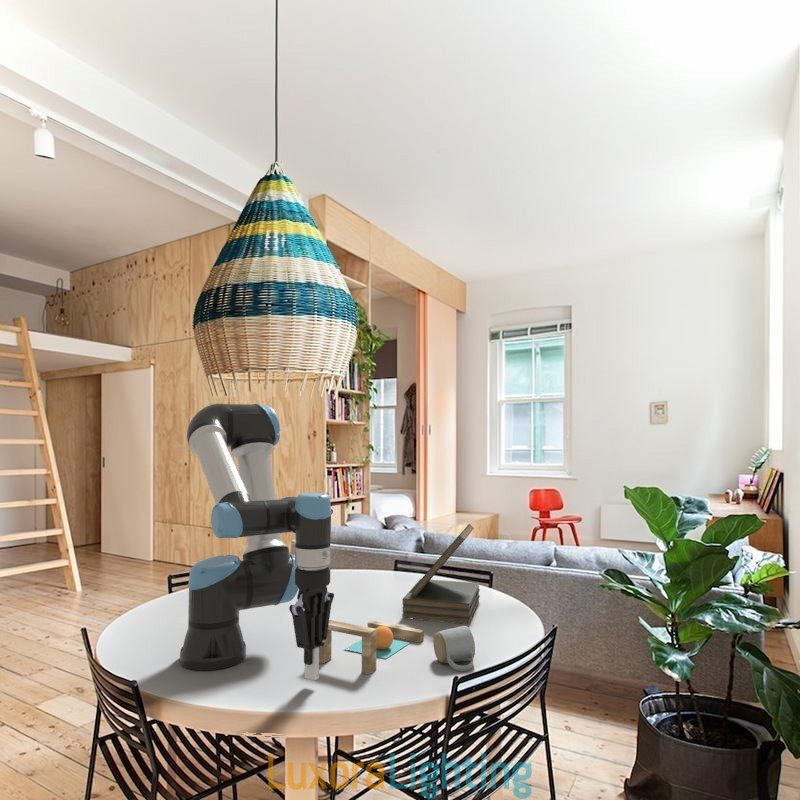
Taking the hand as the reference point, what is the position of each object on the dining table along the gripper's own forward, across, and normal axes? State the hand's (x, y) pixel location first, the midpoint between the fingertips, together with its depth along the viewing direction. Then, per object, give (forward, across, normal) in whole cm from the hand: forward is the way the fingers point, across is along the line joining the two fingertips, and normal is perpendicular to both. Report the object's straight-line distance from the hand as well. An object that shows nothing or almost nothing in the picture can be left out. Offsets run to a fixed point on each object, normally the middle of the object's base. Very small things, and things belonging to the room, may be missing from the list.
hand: (311, 677), depth 130 cm
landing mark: (+2, +27, 0) cm, 27 cm away
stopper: (+2, +36, 0) cm, 36 cm away
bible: (+3, +63, -1) cm, 63 cm away
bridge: (+2, +13, 0) cm, 13 cm away
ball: (-1, +26, -2) cm, 26 cm away
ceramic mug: (+2, +28, -22) cm, 35 cm away
